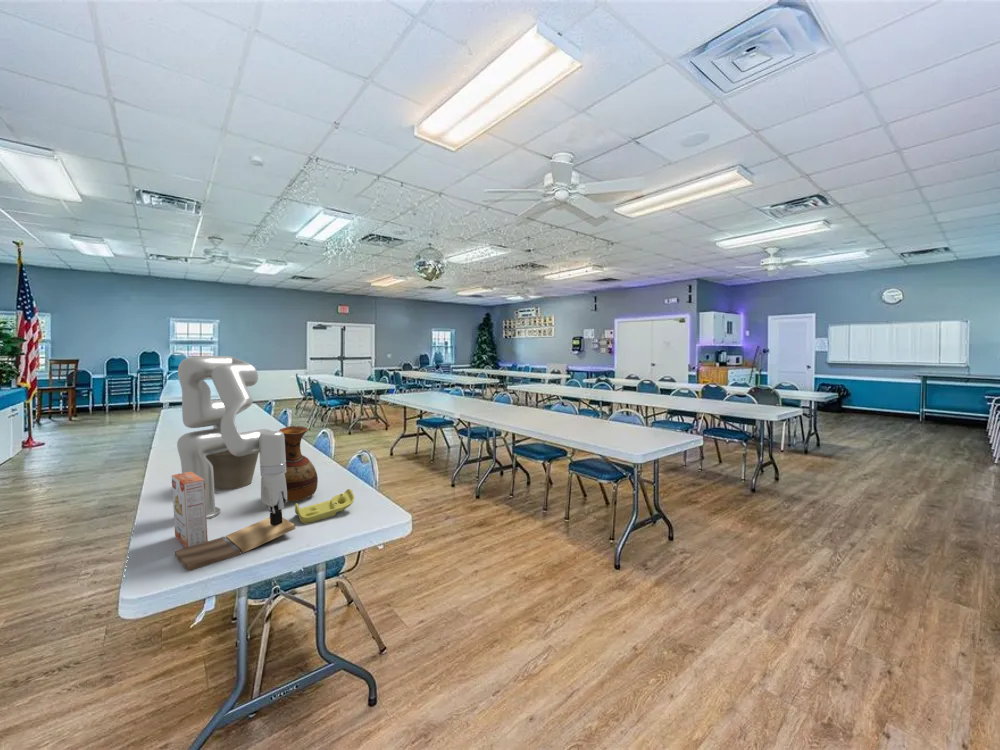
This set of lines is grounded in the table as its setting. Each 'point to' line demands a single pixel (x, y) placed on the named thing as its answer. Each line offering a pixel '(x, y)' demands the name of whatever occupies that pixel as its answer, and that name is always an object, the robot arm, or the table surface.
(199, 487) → the cracker box
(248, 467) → the plant pot
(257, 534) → the oak plank
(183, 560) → the walnut board
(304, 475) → the ceramic pitcher
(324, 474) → the table surface
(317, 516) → the plastic component
